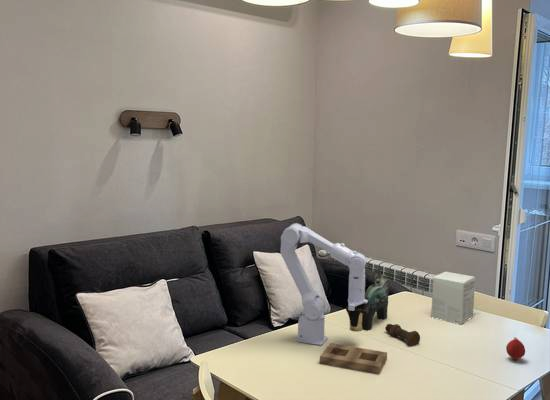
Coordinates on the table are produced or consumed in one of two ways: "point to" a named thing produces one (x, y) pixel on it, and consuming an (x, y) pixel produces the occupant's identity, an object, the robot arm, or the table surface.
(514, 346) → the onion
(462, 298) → the supplement box
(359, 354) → the frame
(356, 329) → the brass peg
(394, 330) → the bolt
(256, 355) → the table surface
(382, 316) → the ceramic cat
